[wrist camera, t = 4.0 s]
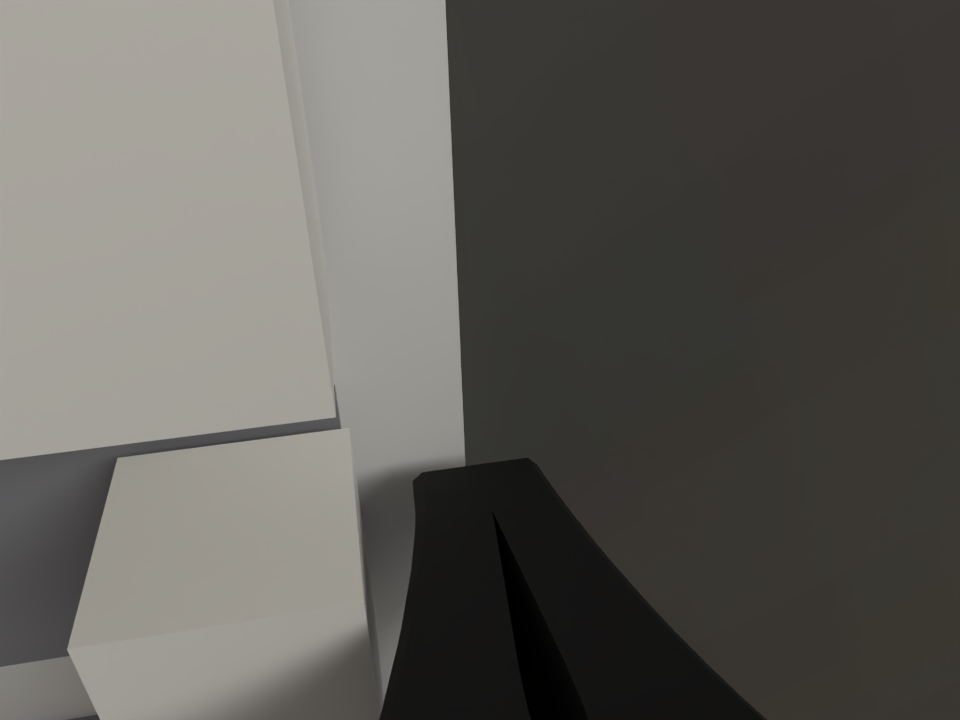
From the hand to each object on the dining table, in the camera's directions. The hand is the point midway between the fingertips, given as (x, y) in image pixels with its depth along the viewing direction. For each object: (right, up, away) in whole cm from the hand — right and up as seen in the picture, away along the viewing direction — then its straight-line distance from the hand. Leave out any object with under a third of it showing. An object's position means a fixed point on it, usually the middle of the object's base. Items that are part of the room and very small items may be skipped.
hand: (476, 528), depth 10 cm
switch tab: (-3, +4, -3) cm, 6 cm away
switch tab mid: (-3, 0, 0) cm, 3 cm away
